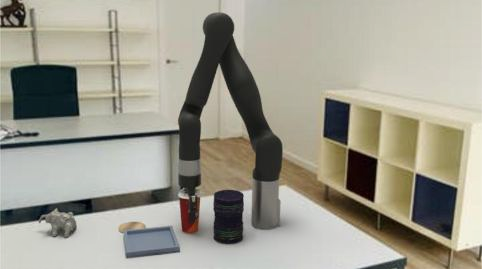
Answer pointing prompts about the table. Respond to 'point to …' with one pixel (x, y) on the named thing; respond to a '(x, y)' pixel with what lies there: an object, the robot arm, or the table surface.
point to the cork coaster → (131, 226)
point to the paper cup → (185, 223)
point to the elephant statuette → (60, 222)
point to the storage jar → (228, 216)
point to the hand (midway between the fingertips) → (190, 218)
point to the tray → (150, 241)
